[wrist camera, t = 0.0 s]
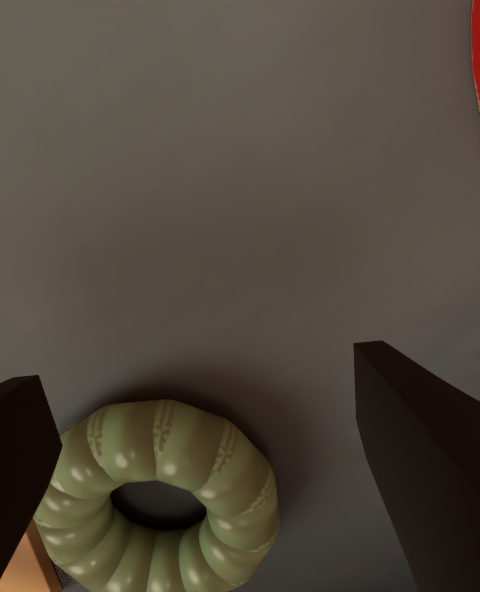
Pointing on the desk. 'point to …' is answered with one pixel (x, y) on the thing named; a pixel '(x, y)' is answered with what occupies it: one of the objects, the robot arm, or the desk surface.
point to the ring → (169, 469)
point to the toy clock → (476, 45)
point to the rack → (30, 566)
